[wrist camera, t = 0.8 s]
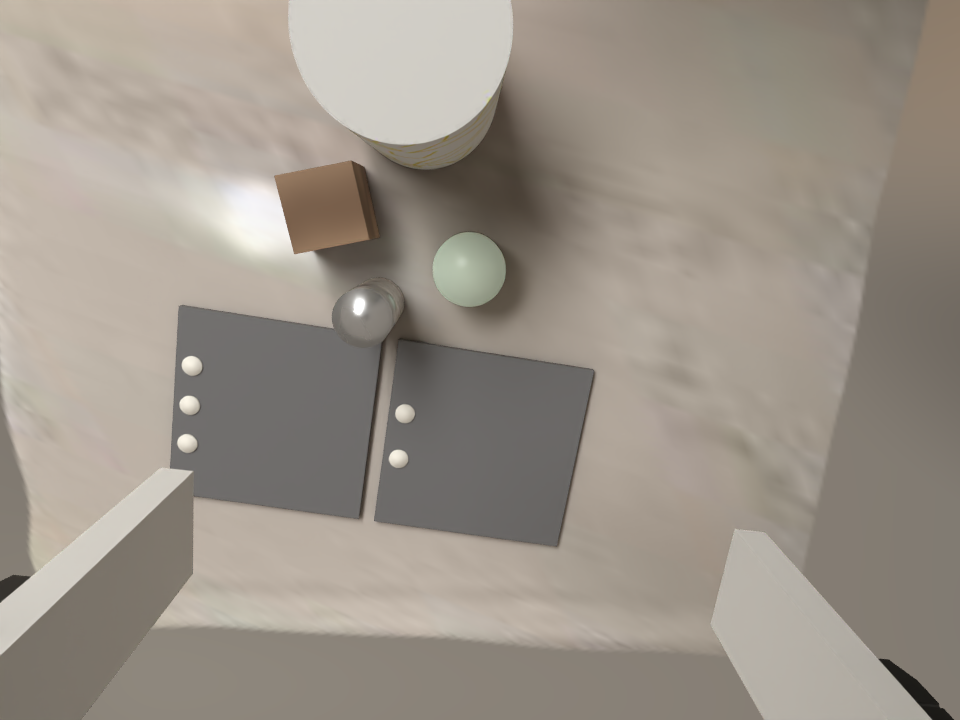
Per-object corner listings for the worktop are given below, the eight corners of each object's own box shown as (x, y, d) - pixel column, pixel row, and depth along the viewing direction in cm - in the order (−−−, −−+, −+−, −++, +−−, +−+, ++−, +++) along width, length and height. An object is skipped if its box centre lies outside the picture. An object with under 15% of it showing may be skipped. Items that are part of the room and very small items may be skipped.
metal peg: (356, 273, 36) (335, 284, 30) (407, 281, 36) (395, 294, 30) (351, 323, 37) (328, 342, 31) (400, 330, 37) (388, 352, 31)
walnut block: (295, 180, 35) (274, 175, 31) (364, 166, 35) (351, 160, 31) (313, 250, 36) (294, 254, 32) (379, 237, 36) (369, 239, 32)
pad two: (399, 339, 37) (398, 340, 36) (592, 369, 37) (594, 371, 37) (374, 518, 39) (373, 521, 39) (555, 543, 40) (556, 547, 40)
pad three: (181, 304, 36) (178, 306, 36) (382, 336, 37) (381, 338, 36) (171, 489, 39) (168, 493, 38) (359, 515, 39) (358, 519, 39)
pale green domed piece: (440, 226, 35) (437, 227, 33) (508, 237, 36) (511, 239, 33) (431, 293, 36) (427, 300, 33) (497, 304, 37) (499, 312, 34)
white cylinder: (369, 182, 35) (320, 163, 23) (334, 28, 33) (261, -76, 21) (509, 154, 35) (530, 121, 23) (482, -2, 33) (490, -125, 21)
